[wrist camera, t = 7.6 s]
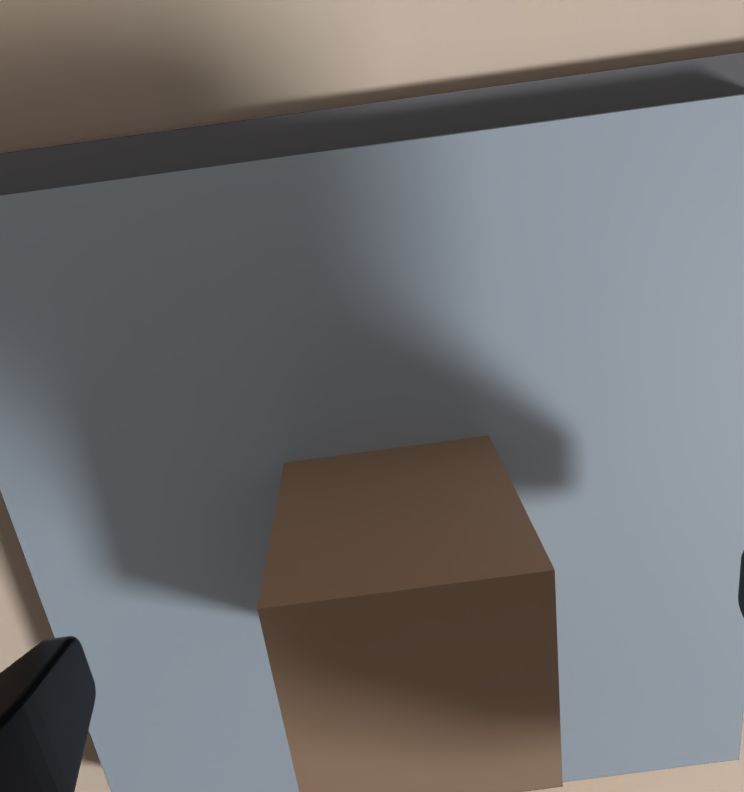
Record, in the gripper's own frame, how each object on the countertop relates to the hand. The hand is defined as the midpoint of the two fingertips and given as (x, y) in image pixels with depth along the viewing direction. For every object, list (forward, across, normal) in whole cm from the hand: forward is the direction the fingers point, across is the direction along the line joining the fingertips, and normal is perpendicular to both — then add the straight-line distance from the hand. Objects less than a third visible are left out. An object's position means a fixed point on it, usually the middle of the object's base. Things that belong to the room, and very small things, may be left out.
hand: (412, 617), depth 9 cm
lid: (+3, 0, 0) cm, 3 cm away
